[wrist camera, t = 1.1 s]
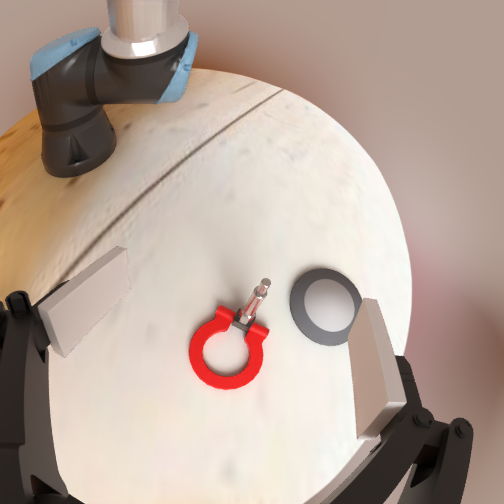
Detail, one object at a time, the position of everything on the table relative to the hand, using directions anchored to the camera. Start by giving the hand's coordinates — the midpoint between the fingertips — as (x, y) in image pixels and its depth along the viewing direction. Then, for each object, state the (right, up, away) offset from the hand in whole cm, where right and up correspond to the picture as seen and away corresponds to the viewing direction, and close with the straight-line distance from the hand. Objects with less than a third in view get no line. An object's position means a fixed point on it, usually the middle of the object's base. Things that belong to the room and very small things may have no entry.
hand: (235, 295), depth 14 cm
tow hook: (-2, -9, +17) cm, 19 cm away
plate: (+11, -5, +22) cm, 25 cm away
